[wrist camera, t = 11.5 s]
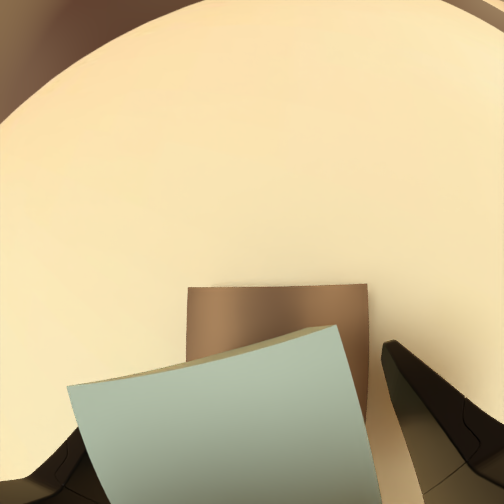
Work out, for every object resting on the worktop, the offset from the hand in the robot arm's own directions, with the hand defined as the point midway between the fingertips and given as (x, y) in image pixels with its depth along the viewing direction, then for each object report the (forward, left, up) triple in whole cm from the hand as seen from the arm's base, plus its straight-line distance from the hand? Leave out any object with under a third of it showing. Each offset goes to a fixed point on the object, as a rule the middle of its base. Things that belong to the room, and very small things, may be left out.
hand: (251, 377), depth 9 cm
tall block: (0, -1, -8) cm, 8 cm away
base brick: (0, -1, -12) cm, 12 cm away
